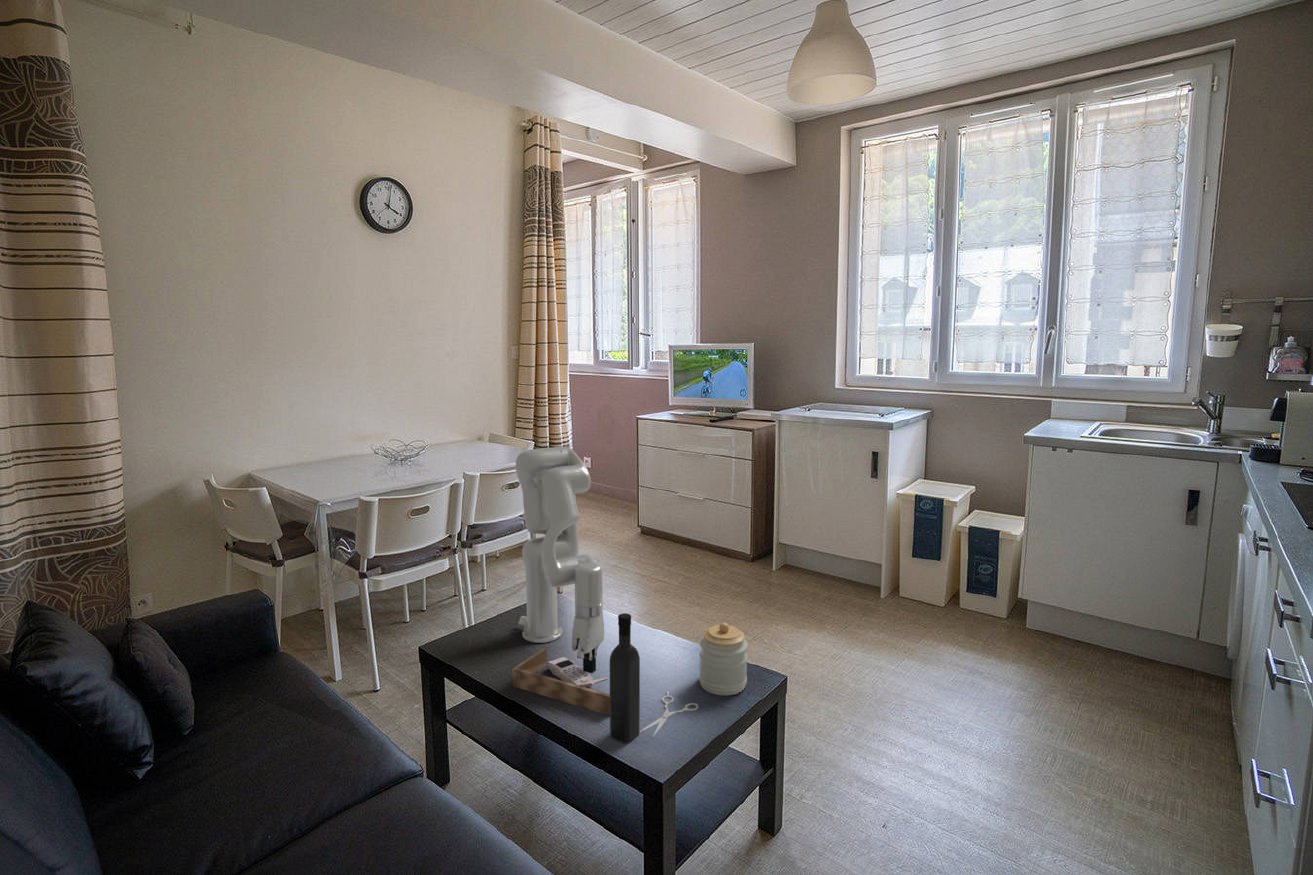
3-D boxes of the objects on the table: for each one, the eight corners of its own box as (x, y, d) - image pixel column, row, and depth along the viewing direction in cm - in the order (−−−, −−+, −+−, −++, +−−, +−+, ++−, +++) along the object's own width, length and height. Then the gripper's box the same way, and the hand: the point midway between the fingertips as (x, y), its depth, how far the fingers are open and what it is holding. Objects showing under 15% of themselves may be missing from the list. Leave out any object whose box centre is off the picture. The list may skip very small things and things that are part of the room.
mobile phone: (591, 684, 172) (542, 648, 191) (591, 705, 173) (542, 667, 192) (610, 677, 176) (560, 642, 195) (610, 698, 177) (560, 661, 196)
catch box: (512, 686, 182) (512, 668, 181) (544, 663, 194) (543, 647, 193) (611, 715, 168) (611, 697, 167) (638, 689, 180) (638, 672, 179)
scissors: (702, 702, 174) (664, 741, 157) (702, 704, 174) (664, 744, 157) (667, 691, 179) (626, 727, 162) (667, 693, 179) (626, 730, 162)
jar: (746, 673, 189) (747, 614, 187) (747, 698, 177) (749, 634, 174) (699, 671, 191) (700, 612, 188) (698, 695, 178) (699, 632, 175)
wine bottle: (607, 736, 159) (607, 616, 155) (622, 725, 164) (622, 608, 159) (627, 745, 156) (627, 622, 151) (641, 733, 161) (641, 614, 156)
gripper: (591, 596, 192) (592, 656, 195) (561, 615, 179) (562, 680, 182) (614, 601, 189) (614, 662, 192) (585, 621, 176) (586, 686, 179)
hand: (589, 670), depth 187 cm, fingers closed
